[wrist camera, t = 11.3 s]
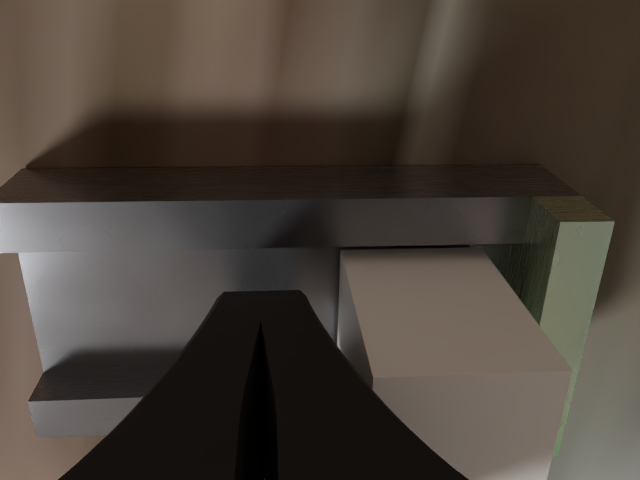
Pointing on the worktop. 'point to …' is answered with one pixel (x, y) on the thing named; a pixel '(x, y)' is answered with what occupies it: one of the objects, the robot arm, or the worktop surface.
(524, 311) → the slider
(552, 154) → the worktop surface
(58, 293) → the slider track
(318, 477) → the robot arm
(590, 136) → the worktop surface
